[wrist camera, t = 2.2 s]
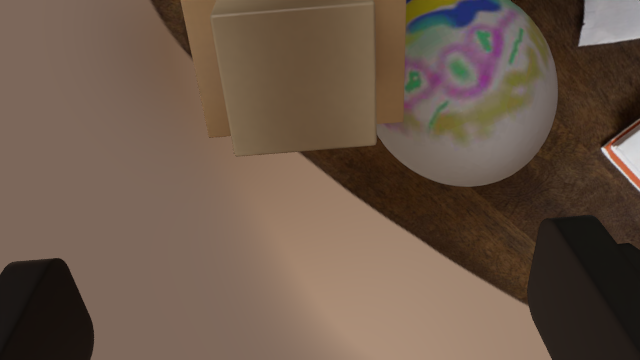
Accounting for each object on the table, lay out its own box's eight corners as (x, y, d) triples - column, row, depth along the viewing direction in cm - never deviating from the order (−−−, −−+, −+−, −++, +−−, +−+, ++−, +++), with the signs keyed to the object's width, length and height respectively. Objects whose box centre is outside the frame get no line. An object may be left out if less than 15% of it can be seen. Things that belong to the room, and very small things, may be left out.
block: (244, 96, 21) (234, 158, 17) (225, -26, 19) (208, 15, 15) (361, 87, 21) (377, 146, 17) (358, -36, 19) (376, 1, 15)
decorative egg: (493, -63, 37) (596, -2, 25) (528, 88, 44) (624, 196, 31) (329, 11, 40) (347, 101, 27) (385, 144, 46) (421, 265, 34)
